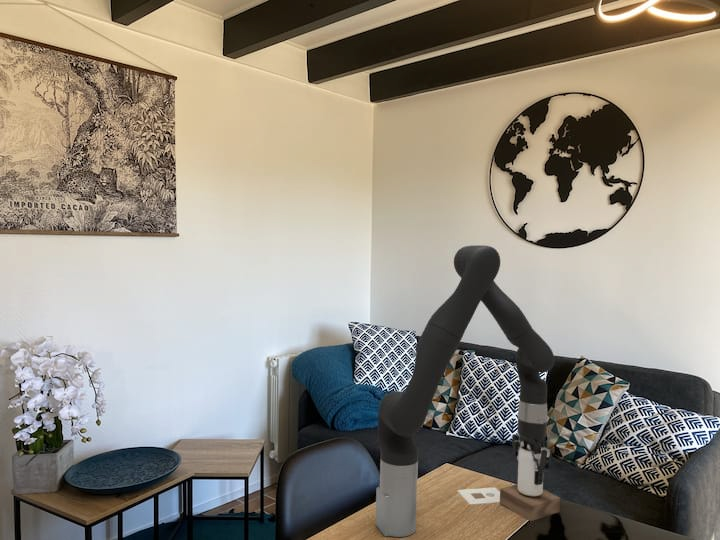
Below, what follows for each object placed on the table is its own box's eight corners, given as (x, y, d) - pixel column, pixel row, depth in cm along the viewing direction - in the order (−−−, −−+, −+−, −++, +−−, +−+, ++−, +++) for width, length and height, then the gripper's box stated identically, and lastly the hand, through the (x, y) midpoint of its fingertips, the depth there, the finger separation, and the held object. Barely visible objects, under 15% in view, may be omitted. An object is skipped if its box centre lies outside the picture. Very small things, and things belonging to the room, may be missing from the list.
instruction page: (470, 505, 148) (470, 504, 148) (456, 490, 157) (456, 490, 157) (510, 501, 151) (510, 500, 151) (495, 488, 159) (495, 487, 159)
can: (543, 498, 143) (545, 453, 143) (518, 495, 144) (520, 450, 144) (540, 488, 150) (542, 445, 149) (516, 485, 151) (518, 442, 151)
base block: (531, 521, 140) (531, 506, 140) (499, 503, 149) (500, 488, 149) (559, 512, 145) (560, 497, 145) (527, 495, 155) (528, 481, 155)
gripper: (504, 411, 152) (502, 471, 152) (538, 427, 139) (536, 492, 139) (526, 409, 155) (524, 468, 155) (562, 424, 141) (559, 488, 142)
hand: (529, 479), depth 147 cm, fingers closed on can, 6 cm apart
